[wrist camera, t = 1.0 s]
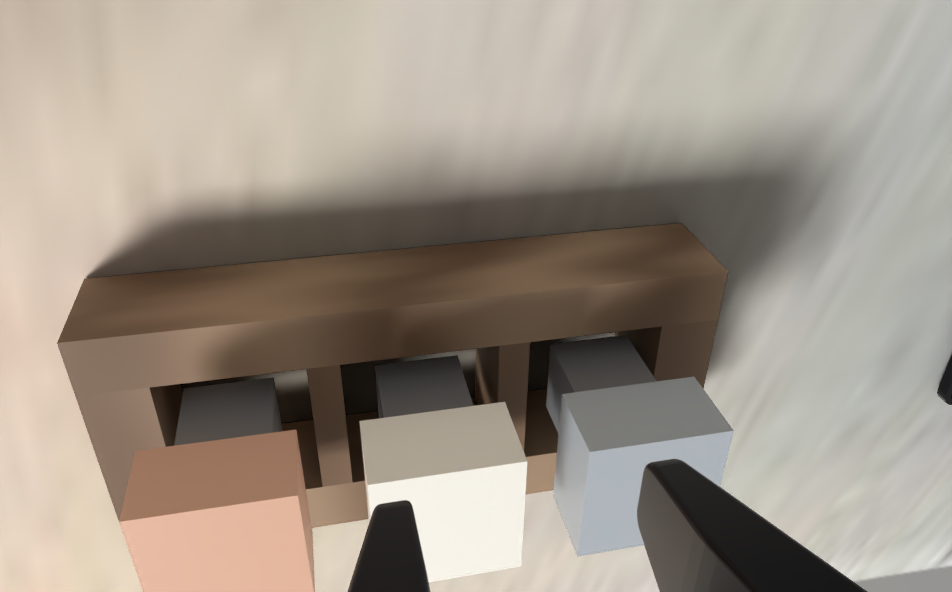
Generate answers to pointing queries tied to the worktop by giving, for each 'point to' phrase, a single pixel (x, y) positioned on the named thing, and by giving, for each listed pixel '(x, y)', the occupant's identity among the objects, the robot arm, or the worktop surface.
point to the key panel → (381, 336)
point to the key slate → (621, 436)
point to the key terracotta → (222, 499)
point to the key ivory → (447, 467)
